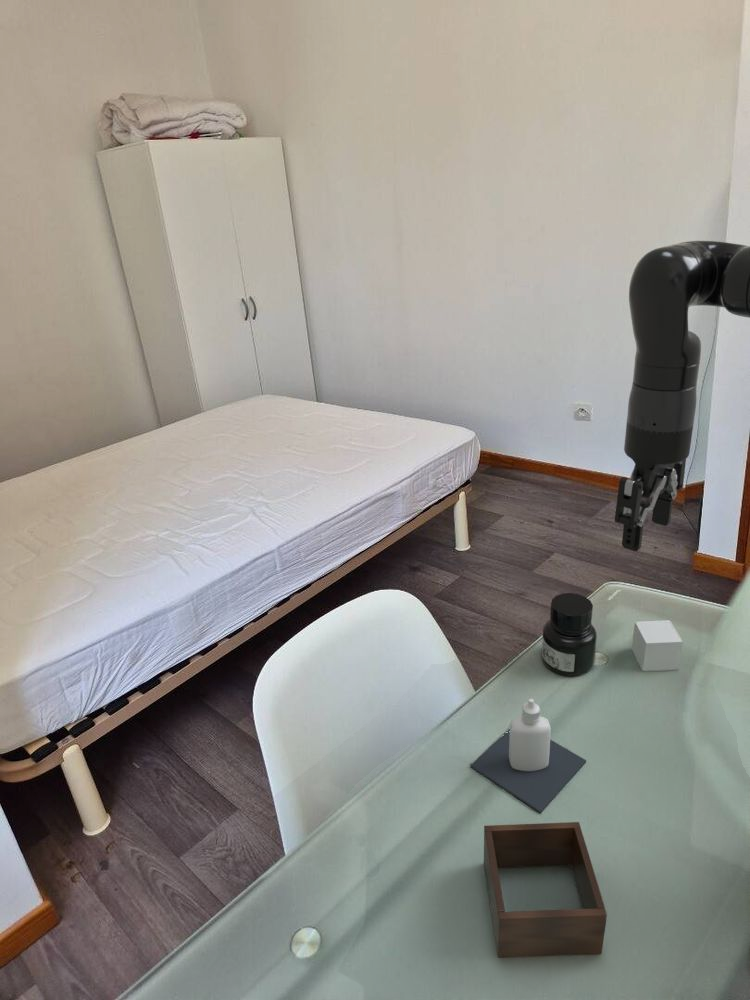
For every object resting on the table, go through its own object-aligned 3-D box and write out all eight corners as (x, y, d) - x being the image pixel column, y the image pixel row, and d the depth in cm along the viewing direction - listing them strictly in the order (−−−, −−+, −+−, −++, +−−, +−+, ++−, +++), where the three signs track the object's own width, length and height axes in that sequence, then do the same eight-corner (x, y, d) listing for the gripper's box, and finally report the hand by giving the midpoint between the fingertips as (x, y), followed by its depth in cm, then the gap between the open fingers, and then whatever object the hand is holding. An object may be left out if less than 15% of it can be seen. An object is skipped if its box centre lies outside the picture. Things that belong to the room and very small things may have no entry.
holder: (575, 859, 87) (579, 821, 84) (601, 954, 77) (607, 915, 74) (483, 862, 87) (483, 825, 84) (497, 957, 77) (498, 918, 74)
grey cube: (642, 671, 117) (646, 643, 115) (631, 649, 123) (634, 621, 120) (678, 669, 117) (683, 641, 114) (665, 647, 122) (669, 619, 120)
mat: (586, 762, 101) (586, 760, 101) (540, 813, 93) (540, 811, 93) (517, 722, 109) (517, 720, 108) (470, 767, 101) (470, 765, 101)
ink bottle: (531, 650, 124) (533, 595, 119) (574, 638, 126) (578, 583, 121) (560, 684, 116) (564, 626, 110) (605, 671, 118) (611, 613, 113)
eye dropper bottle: (514, 746, 104) (516, 684, 98) (551, 758, 101) (555, 696, 96) (505, 767, 100) (506, 704, 95) (543, 780, 98) (547, 716, 93)
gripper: (664, 443, 76) (649, 567, 83) (715, 407, 85) (697, 523, 92) (602, 429, 81) (592, 548, 88) (655, 397, 90) (643, 508, 97)
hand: (646, 535), depth 90 cm, fingers open, 8 cm apart
